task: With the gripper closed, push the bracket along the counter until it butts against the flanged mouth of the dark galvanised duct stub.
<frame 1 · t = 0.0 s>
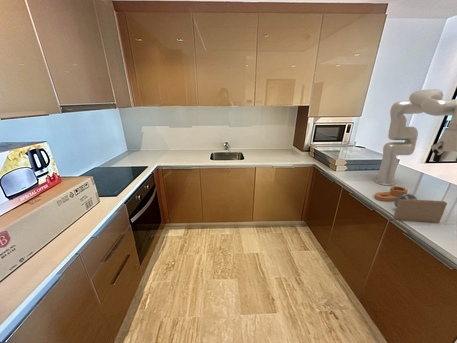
hand: (447, 161, 97), 31 cm above the countertop, tool pointing down, fingers open, 9 cm apart
bracket: (389, 198, 127), on the countertop
duct stub: (408, 214, 109), on the countertop
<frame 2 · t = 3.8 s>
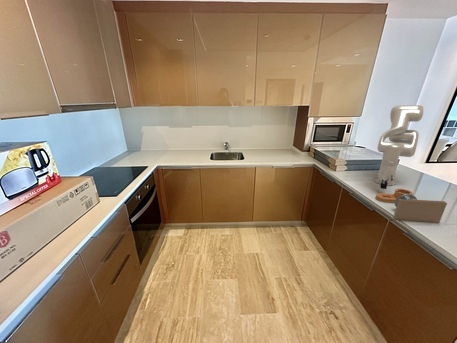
hand: (383, 188, 133), 3 cm above the countertop, tool pointing down, fingers closed
bracket: (392, 200, 125), on the countertop
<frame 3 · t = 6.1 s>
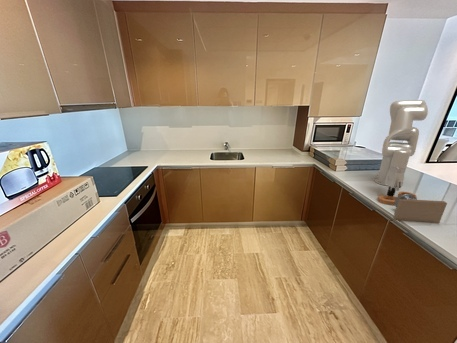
hand: (390, 195, 126), 2 cm above the countertop, tool pointing down, fingers closed
bracket: (394, 203, 121), on the countertop
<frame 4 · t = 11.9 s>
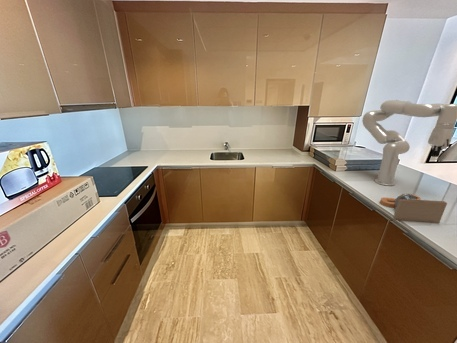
hand: (434, 156, 119), 27 cm above the countertop, tool pointing down, fingers closed
bracket: (397, 206, 119), on the countertop
at the end: bracket 0.8 cm from the target spot, on the countertop; bracket moved 9.0 cm from its start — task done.
